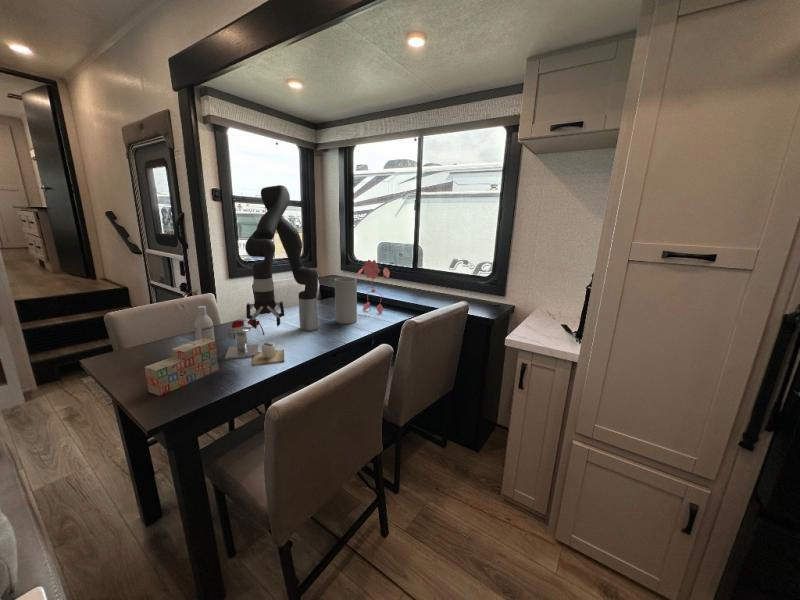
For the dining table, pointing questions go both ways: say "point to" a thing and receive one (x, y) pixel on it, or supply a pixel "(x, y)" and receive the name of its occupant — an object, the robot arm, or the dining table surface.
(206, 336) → the bath foam
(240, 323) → the glasses
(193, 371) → the stack of blocks
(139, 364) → the dining table surface
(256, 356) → the coaster
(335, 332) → the dining table surface
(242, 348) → the knob on square base
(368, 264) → the figurine
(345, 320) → the cylinder vase
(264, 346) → the cap
